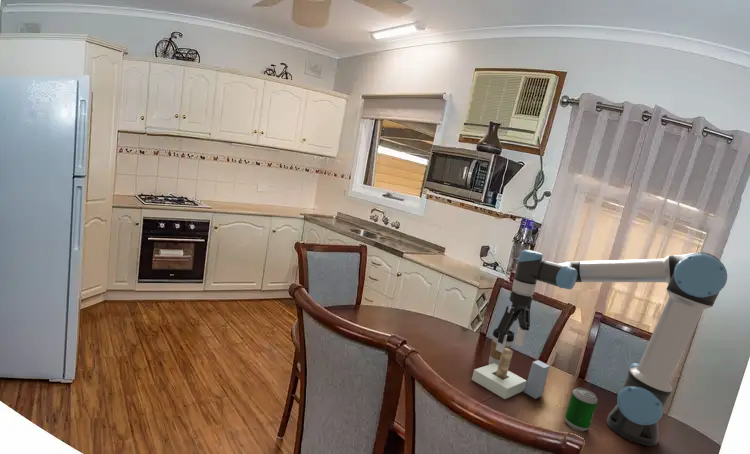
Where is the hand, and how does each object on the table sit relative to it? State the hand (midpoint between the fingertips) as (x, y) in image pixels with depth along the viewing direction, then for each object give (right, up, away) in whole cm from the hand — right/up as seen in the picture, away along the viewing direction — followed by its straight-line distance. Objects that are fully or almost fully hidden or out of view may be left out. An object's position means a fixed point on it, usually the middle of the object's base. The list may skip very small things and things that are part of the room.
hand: (508, 348), depth 159 cm
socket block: (-3, -14, +2) cm, 15 cm away
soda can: (+18, -21, -15) cm, 32 cm away
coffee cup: (+1, -13, +20) cm, 24 cm away
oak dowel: (-3, -14, +2) cm, 15 cm away
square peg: (+9, -17, +1) cm, 19 cm away
